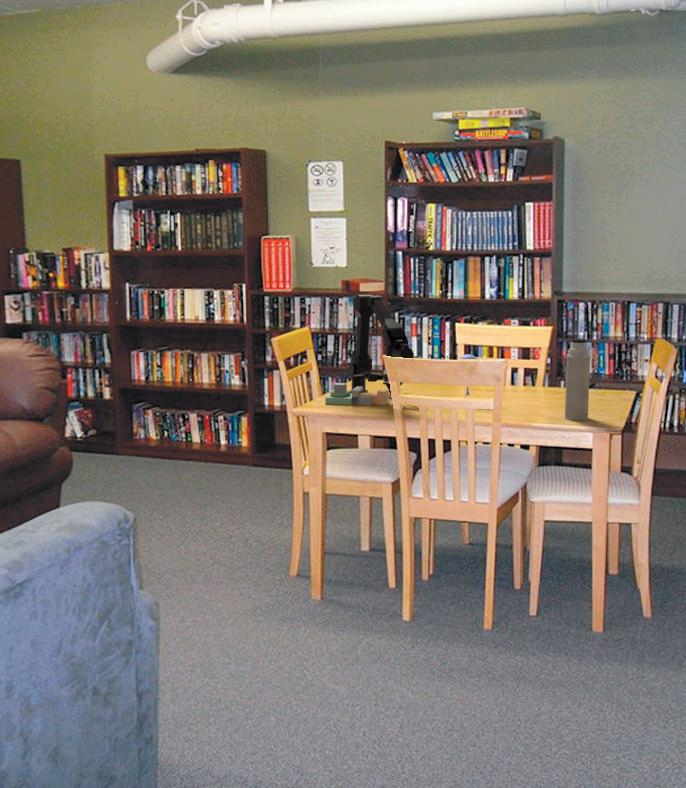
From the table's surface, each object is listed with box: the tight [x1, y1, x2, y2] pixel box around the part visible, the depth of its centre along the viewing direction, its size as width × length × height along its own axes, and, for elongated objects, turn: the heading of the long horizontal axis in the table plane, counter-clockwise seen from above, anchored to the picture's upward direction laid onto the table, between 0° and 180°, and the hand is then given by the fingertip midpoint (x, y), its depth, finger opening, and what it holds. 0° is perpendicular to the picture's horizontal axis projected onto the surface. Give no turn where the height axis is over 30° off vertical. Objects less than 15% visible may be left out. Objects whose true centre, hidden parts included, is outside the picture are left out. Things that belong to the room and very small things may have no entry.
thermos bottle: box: [564, 338, 591, 421], centre depth 374 cm, size 8×8×28 cm
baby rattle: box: [459, 354, 478, 397], centre depth 409 cm, size 9×9×18 cm
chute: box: [359, 388, 390, 406], centre depth 406 cm, size 6×12×5 cm, turn 77°
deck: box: [325, 382, 373, 406], centre depth 408 cm, size 11×18×7 cm, turn 77°
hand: (393, 400), depth 405 cm, fingers closed
